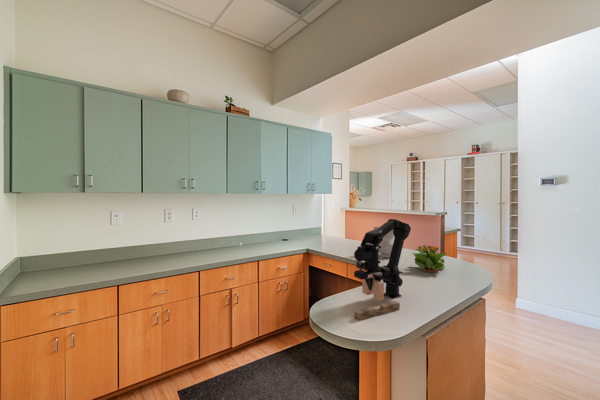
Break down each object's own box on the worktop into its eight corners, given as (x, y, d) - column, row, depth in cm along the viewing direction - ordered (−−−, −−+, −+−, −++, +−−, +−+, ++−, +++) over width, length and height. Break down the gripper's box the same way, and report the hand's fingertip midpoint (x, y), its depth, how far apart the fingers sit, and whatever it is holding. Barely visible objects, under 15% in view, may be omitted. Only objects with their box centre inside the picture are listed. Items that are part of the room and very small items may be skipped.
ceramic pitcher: (372, 259, 228) (372, 229, 225) (372, 252, 247) (372, 225, 244) (399, 260, 223) (400, 230, 220) (397, 253, 242) (397, 225, 239)
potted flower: (454, 276, 174) (455, 249, 174) (415, 275, 179) (415, 248, 179) (442, 266, 199) (442, 242, 198) (408, 265, 204) (408, 241, 203)
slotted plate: (366, 291, 140) (366, 276, 140) (383, 299, 129) (383, 282, 129) (362, 292, 139) (362, 277, 138) (379, 300, 128) (378, 283, 128)
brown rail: (395, 307, 129) (395, 301, 129) (399, 309, 127) (399, 302, 127) (354, 318, 118) (354, 311, 118) (358, 320, 116) (358, 313, 116)
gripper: (375, 253, 145) (375, 282, 145) (347, 257, 136) (347, 288, 137) (391, 257, 135) (391, 288, 135) (361, 261, 126) (361, 295, 127)
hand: (372, 289), depth 134 cm, fingers closed on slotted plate, 3 cm apart
